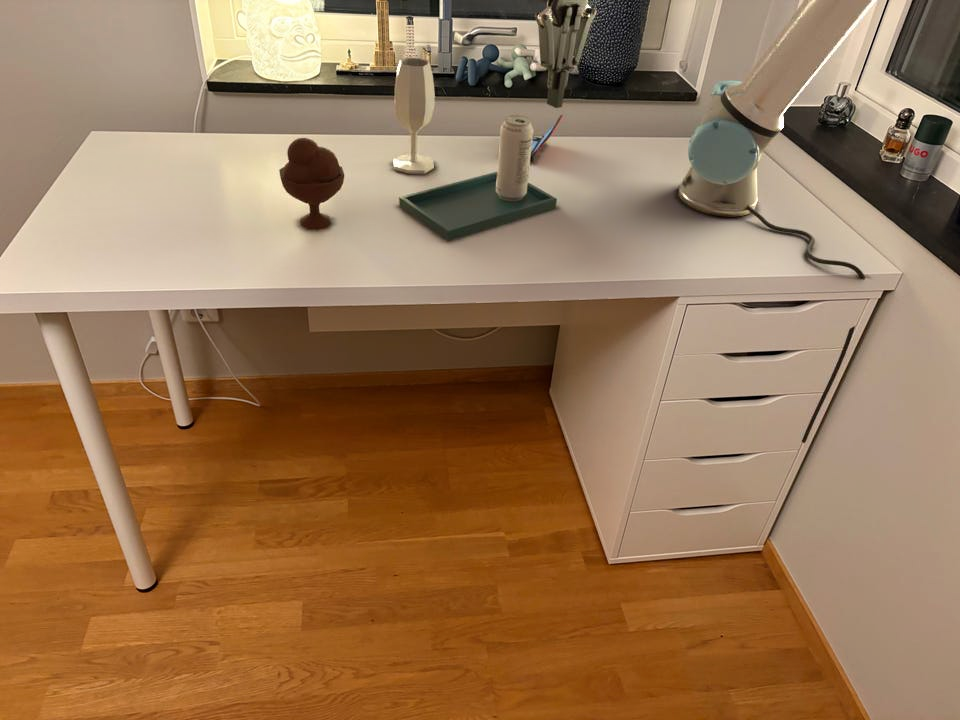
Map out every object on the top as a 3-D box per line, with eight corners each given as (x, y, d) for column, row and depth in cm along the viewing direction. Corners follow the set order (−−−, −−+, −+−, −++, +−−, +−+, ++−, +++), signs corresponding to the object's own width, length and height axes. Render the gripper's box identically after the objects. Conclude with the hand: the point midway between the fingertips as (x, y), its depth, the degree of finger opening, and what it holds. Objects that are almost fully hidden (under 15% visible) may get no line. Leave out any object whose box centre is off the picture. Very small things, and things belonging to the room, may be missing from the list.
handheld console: (513, 138, 173) (516, 105, 169) (559, 146, 171) (564, 113, 167) (498, 157, 164) (501, 123, 159) (547, 166, 162) (551, 132, 157)
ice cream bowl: (287, 239, 129) (278, 155, 120) (282, 210, 138) (274, 129, 129) (349, 235, 132) (346, 152, 123) (341, 206, 140) (337, 127, 131)
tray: (555, 208, 146) (557, 198, 145) (448, 241, 132) (448, 231, 131) (504, 178, 155) (505, 169, 154) (399, 206, 142) (399, 196, 141)
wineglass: (428, 177, 153) (431, 71, 140) (387, 171, 154) (386, 65, 141) (439, 161, 160) (442, 58, 147) (399, 155, 161) (399, 53, 148)
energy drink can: (506, 186, 151) (512, 111, 142) (531, 195, 148) (540, 119, 139) (489, 196, 147) (495, 119, 138) (515, 205, 144) (523, 128, 135)
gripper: (559, -27, 123) (541, 117, 137) (615, -32, 129) (592, 106, 144) (529, -36, 127) (515, 104, 141) (584, -40, 134) (565, 94, 148)
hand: (554, 105), depth 143 cm, fingers closed
